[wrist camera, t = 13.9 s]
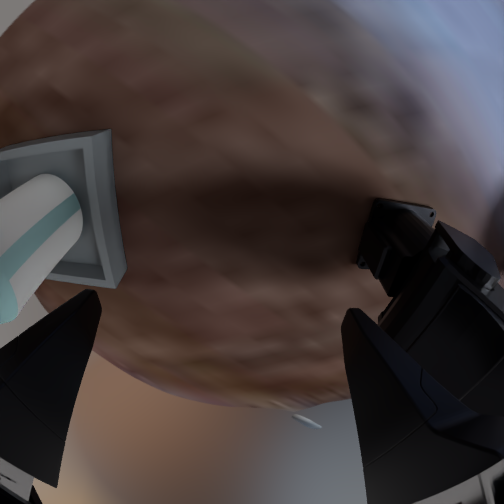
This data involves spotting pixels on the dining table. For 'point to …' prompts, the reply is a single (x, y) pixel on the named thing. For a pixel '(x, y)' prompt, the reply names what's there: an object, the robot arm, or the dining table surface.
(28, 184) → the can
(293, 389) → the dining table surface
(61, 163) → the bin
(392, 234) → the robot arm
